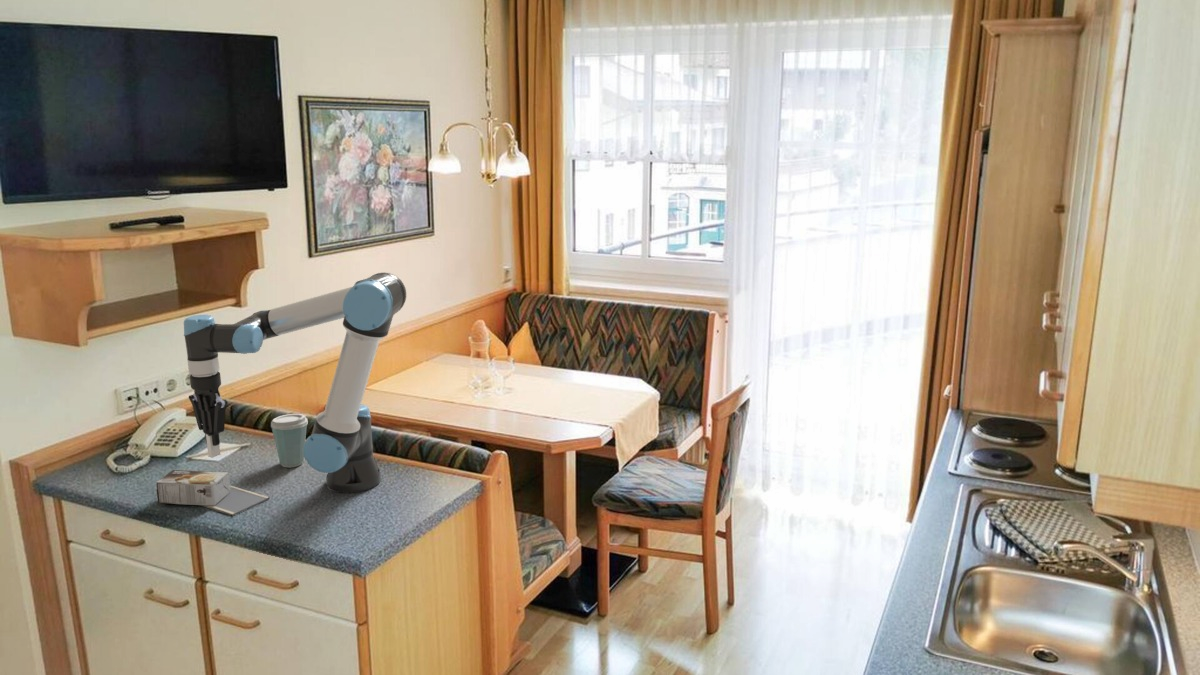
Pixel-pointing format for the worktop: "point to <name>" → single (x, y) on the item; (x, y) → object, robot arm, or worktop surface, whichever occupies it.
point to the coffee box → (193, 487)
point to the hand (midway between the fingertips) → (214, 455)
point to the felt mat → (237, 501)
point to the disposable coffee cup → (290, 438)
